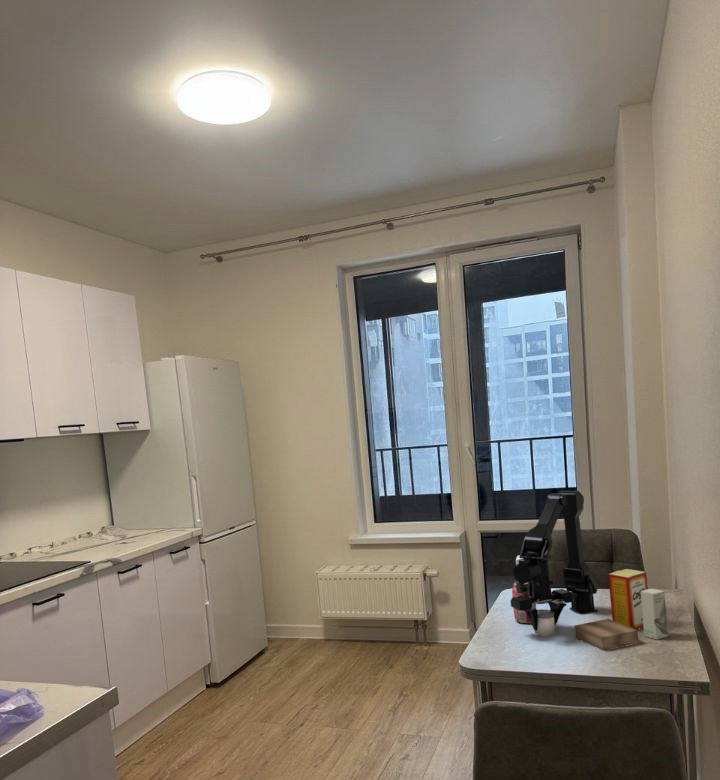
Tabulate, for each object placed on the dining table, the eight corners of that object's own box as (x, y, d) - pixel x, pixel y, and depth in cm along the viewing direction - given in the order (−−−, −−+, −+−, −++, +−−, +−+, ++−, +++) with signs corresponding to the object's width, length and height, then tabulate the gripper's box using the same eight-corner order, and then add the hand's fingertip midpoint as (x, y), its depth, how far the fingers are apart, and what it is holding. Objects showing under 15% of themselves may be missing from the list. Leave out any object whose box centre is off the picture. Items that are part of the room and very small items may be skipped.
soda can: (535, 617, 205) (532, 580, 206) (539, 624, 198) (535, 585, 199) (513, 618, 206) (510, 581, 207) (516, 625, 199) (512, 586, 200)
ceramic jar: (547, 628, 194) (546, 608, 195) (559, 634, 189) (558, 613, 189) (530, 631, 193) (528, 611, 193) (542, 637, 187) (540, 616, 187)
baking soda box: (631, 619, 197) (626, 567, 198) (651, 623, 192) (646, 570, 193) (613, 626, 192) (608, 573, 193) (632, 631, 187) (627, 576, 188)
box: (657, 640, 178) (652, 594, 179) (643, 636, 182) (639, 590, 183) (669, 636, 180) (665, 590, 181) (656, 632, 184) (651, 587, 185)
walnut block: (609, 632, 188) (608, 618, 188) (638, 644, 177) (637, 630, 177) (575, 639, 185) (574, 625, 185) (603, 652, 173) (601, 637, 173)
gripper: (550, 566, 202) (555, 616, 201) (499, 575, 196) (503, 626, 195) (572, 573, 192) (577, 626, 191) (518, 582, 186) (523, 636, 185)
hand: (544, 628), depth 191 cm, fingers closed on ceramic jar, 6 cm apart
